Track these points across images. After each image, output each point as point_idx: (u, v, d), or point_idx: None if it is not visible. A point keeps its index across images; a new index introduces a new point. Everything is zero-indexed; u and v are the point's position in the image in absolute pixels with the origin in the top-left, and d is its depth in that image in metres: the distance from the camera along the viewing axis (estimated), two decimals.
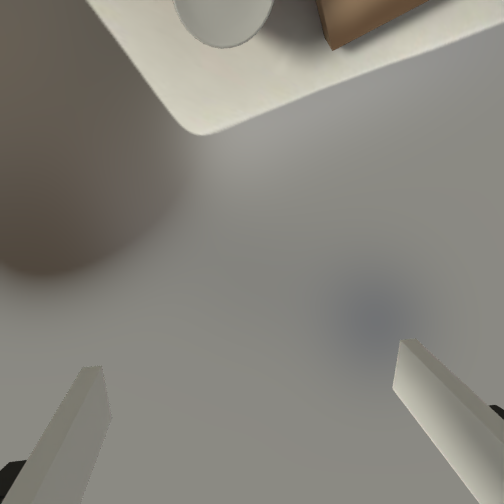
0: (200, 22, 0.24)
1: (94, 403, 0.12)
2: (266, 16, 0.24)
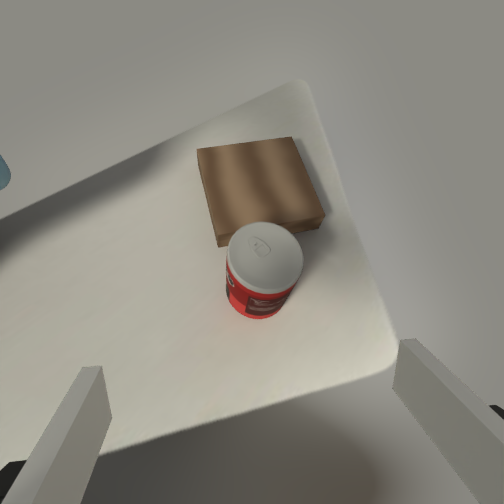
0: (283, 277, 0.30)
1: (94, 403, 0.12)
2: (287, 231, 0.32)
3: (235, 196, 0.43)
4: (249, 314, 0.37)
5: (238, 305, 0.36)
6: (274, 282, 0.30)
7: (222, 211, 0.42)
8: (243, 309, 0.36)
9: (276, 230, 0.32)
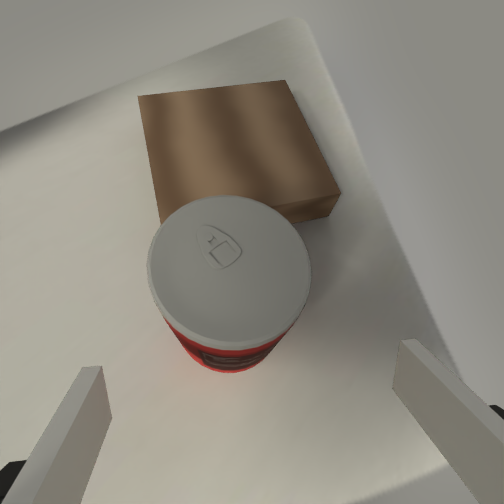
0: (267, 311, 0.14)
1: (94, 403, 0.12)
2: (275, 213, 0.16)
3: (194, 165, 0.26)
4: (213, 368, 0.21)
5: (190, 354, 0.20)
6: (248, 324, 0.13)
7: (172, 188, 0.25)
8: (199, 361, 0.20)
9: (254, 212, 0.16)
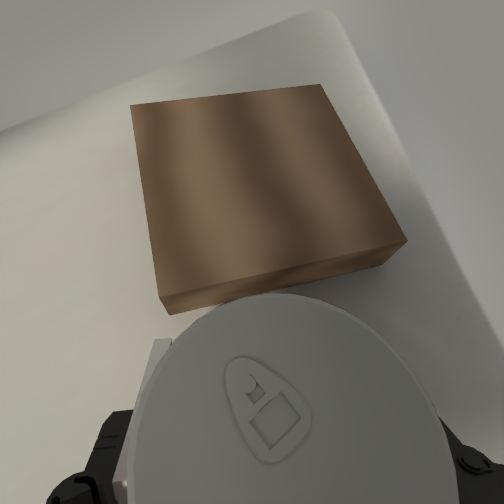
0: None
1: None
2: (369, 331, 0.09)
3: (205, 202, 0.19)
4: None
5: None
6: None
7: (175, 236, 0.18)
8: None
9: (328, 327, 0.09)
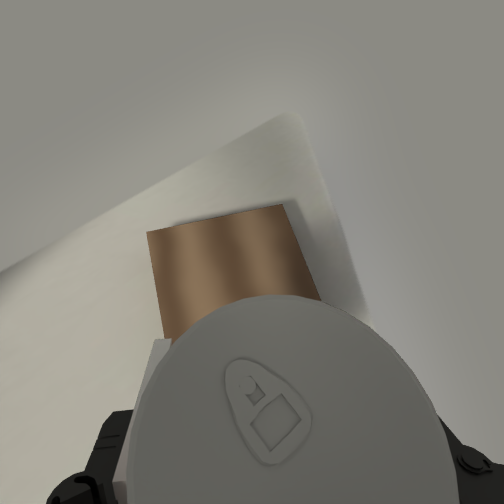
0: None
1: None
2: (369, 332, 0.09)
3: (200, 310, 0.29)
4: None
5: None
6: None
7: None
8: None
9: (328, 328, 0.09)
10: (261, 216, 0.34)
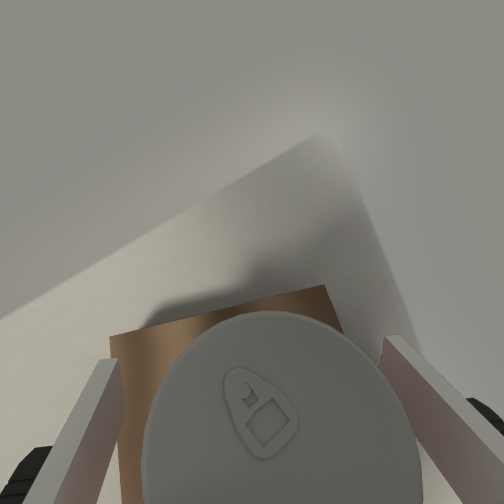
0: None
1: (112, 393, 0.12)
2: (350, 344, 0.10)
3: None
4: None
5: None
6: None
7: None
8: None
9: (314, 341, 0.10)
10: (293, 307, 0.22)
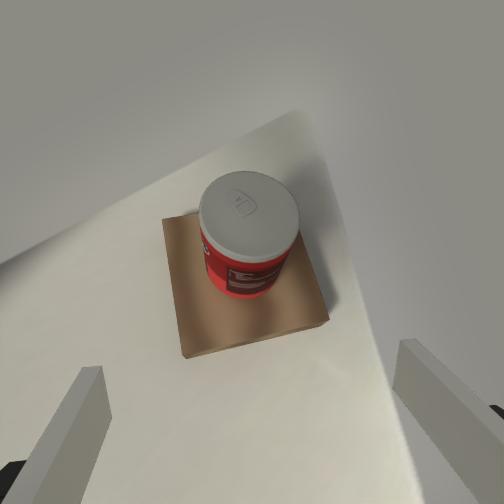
0: (271, 241, 0.23)
1: (94, 403, 0.12)
2: (279, 183, 0.25)
3: (209, 292, 0.32)
4: (232, 293, 0.30)
5: (217, 281, 0.29)
6: (259, 248, 0.23)
7: (191, 316, 0.31)
8: (223, 286, 0.29)
9: (265, 182, 0.25)
10: None
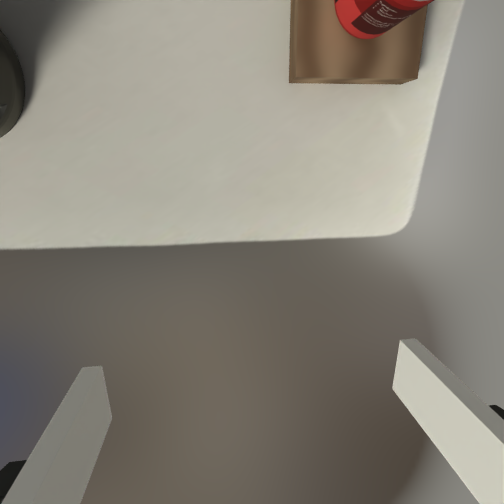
0: None
1: (94, 403, 0.12)
2: None
3: (329, 22, 0.35)
4: (354, 28, 0.33)
5: (349, 10, 0.31)
6: None
7: (309, 42, 0.35)
8: (352, 18, 0.32)
9: None
10: None
